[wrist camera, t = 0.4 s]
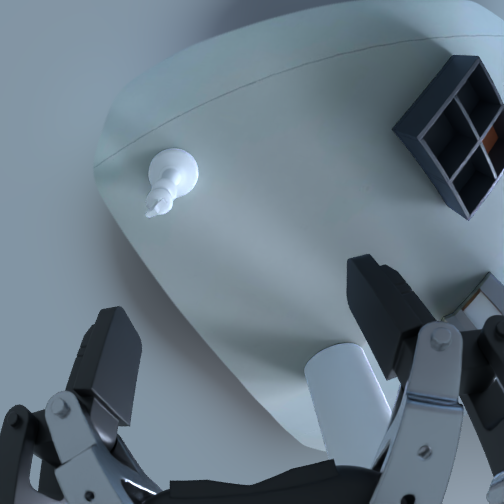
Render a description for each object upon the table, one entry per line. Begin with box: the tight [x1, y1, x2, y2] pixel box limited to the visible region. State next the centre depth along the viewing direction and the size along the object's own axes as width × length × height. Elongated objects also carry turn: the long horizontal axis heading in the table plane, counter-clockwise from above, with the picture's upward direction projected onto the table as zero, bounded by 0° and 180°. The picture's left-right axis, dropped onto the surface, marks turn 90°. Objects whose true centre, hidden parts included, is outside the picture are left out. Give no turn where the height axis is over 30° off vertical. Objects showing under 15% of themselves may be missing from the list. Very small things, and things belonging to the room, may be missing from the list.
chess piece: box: [145, 148, 199, 219], centre depth 23 cm, size 5×5×10 cm
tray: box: [392, 55, 504, 221], centre depth 25 cm, size 14×14×5 cm
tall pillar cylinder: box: [304, 343, 392, 469], centre depth 35 cm, size 11×11×25 cm
